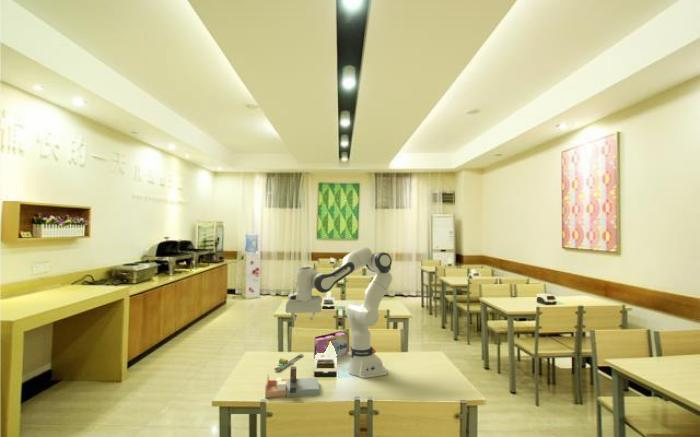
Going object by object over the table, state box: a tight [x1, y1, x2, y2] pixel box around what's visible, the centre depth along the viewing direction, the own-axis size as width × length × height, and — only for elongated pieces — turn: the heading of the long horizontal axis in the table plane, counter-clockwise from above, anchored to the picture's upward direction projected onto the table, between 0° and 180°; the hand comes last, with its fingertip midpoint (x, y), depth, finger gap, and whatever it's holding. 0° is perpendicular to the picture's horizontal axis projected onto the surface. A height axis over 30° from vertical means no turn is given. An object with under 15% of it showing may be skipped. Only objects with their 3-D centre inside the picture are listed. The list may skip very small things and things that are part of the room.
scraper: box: [289, 366, 297, 393], centre depth 175 cm, size 3×18×8 cm, turn 9°
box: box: [264, 374, 287, 399], centre depth 174 cm, size 10×13×6 cm
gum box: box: [313, 330, 349, 359], centre depth 224 cm, size 24×8×14 cm, turn 131°
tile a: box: [275, 376, 283, 389], centre depth 178 cm, size 4×4×3 cm
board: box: [286, 377, 320, 398], centre depth 176 cm, size 16×13×3 cm
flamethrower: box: [273, 353, 304, 372], centre depth 211 cm, size 29×3×10 cm
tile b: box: [277, 381, 287, 391], centre depth 170 cm, size 4×4×3 cm
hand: (303, 320), depth 194 cm, fingers open, 8 cm apart
